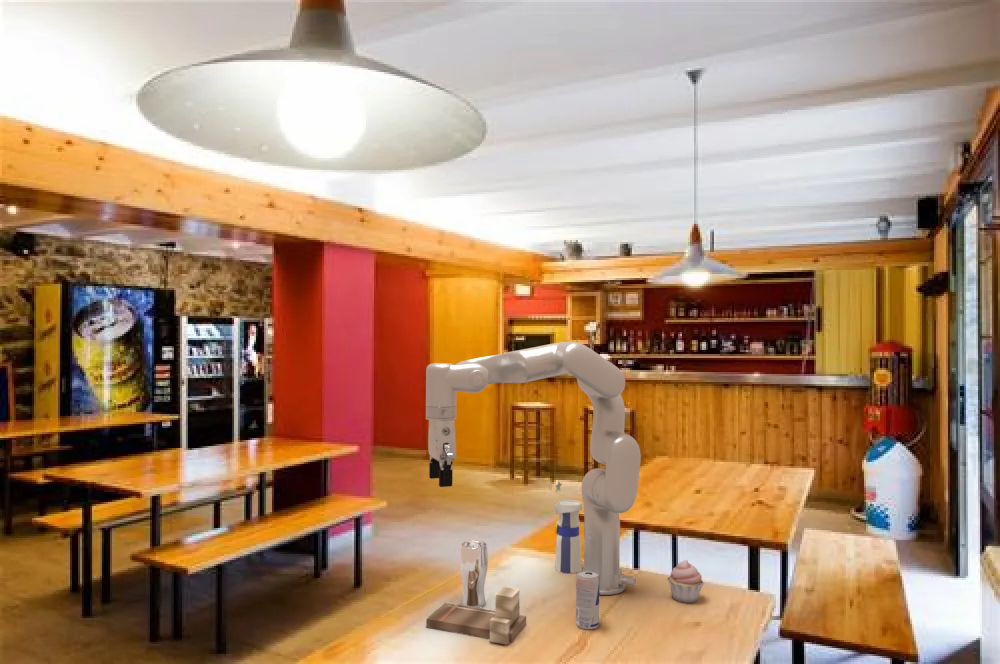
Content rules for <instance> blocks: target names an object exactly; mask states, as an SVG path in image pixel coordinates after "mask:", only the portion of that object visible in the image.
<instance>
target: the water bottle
mask: <svg viewBox="0 0 1000 664" xmlns="http://www.w3.org/2000/svg"><path fill="white" fill-rule="evenodd" d="M562 485H563V483H560V480H558V481H557V484H555V485H554V486H555V488H556V489H555V492H556V493H557V492H558V491H561V486H562ZM554 510H555V514H557V515H558V519H557V520H556V523H555V527H554V530H555V531H554V532H555V534H556V540H555V541H556V542H555V544H556V545H555V566H554V567H555V568H554V569H555V570H556V572H558V571H559V572H558V573H561V572H562V574H569V573H570V574H572V575H573V574H577V572H579V571H583V565H582V537H581V535H580V526H581V524H582V522H581V521H580V518H579V516H580V511H582V510H584V506H583V502H582V501H580V500H575V499H559V500H558V503H555V504H554Z"/></svg>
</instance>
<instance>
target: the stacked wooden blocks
mask: <svg viewBox="0 0 1000 664" xmlns="http://www.w3.org/2000/svg"><path fill="white" fill-rule="evenodd" d="M520 599H521V597H520V588H513V587H507V586H502V588H500V590H499V591H498V592H496V593H495V604H494V606H495V609H494V611H495V617H499V618H493V617H492V618H491V620H490V639H489V642H490V643H496V644H501V645H508V644H509V643H510V642H509V627H510V626H511V625H512V624H513V622H514V621H515V620H516V619H517V618H518V616H519V615H521V614H520V613H521V611H520V609H521V608H520Z"/></svg>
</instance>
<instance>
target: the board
mask: <svg viewBox="0 0 1000 664" xmlns="http://www.w3.org/2000/svg"><path fill="white" fill-rule="evenodd" d="M492 617H493V618H499V617H495V610H492V609H485V608H474V607H467V606H463V605H462V604H461V605H460V604H457V603H456V604H454V603H450V602H449V603H448V602H444V603H443V604H442V605H440V606H439V607H438V608H437V609H436V610H435V611H433V612H432V613H431V614H430V615H429V616H427V618H425V619H426V620H425V621H426V625H425V627H426V628H427V629H432V630H439V631H444V632H450V633H454V632H457V633H456V634H460V633H463V634H462V635H465V634H468V635H467V636H471V635H473V636H472V637H478V638H484V639H489V640H490V620H491V618H492ZM526 626H527V615H522V614H520V615H519V616H518V618H517V619H516V620H515V621H514V622H513V624H512V625H511V626H510V627H509V643H513V642H514V641H515V640H516V638H517V637H518V636H519V634H520V633H521V632H522V631H523V629H524V628H525V627H526Z"/></svg>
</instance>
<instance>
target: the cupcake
mask: <svg viewBox="0 0 1000 664" xmlns="http://www.w3.org/2000/svg"><path fill="white" fill-rule="evenodd" d="M667 582H668V584H669V586H670V590H671V596H672V598H673V599H674V600H675V601H677V602H680V603H687V604H692V603H696V602H697V601H698V600H699V597H700V593H701V589H702V588H703V586H704V584H705V581H703V577H702V574H701V572H699V571H698V569H697V567H695V566H694V565H692V564H691V563H690V562H689V561H688V560H687V559H684V560H682V561H679V562H678V564H676V566H675V567H674V568H672V570H671V572H670V575H669V576H668V577H667Z"/></svg>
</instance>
